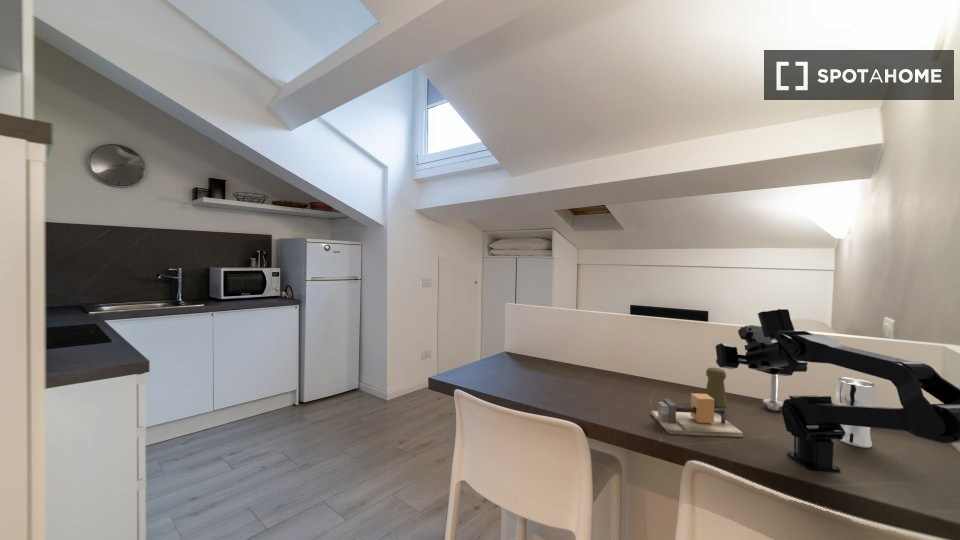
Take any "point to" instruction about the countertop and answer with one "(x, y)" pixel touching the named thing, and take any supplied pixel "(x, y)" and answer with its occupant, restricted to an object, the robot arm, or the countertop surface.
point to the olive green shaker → (716, 386)
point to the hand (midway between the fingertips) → (732, 363)
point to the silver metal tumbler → (856, 395)
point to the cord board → (692, 421)
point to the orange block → (702, 407)
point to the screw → (773, 395)
